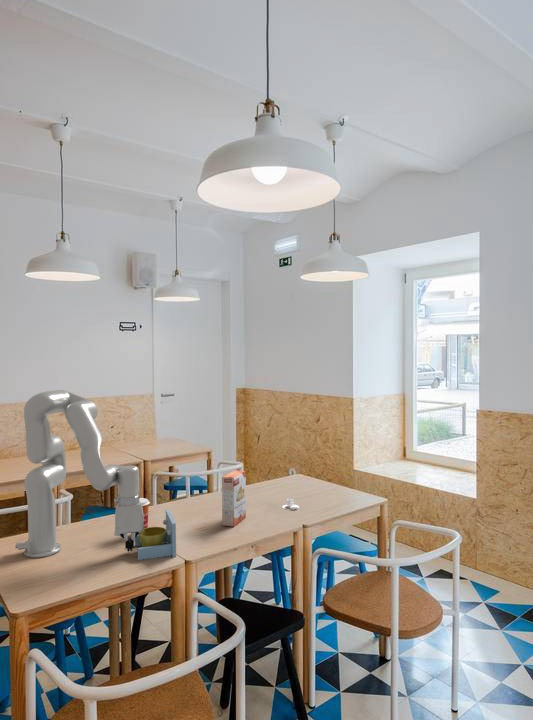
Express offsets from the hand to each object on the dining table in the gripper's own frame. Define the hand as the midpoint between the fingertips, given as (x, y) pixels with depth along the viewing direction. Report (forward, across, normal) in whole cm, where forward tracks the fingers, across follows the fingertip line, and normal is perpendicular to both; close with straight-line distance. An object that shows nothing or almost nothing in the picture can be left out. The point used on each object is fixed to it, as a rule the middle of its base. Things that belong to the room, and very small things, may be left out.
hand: (129, 550), depth 188 cm
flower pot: (+2, +8, 0) cm, 8 cm away
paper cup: (+2, +5, +19) cm, 20 cm away
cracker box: (+1, +45, +21) cm, 50 cm away
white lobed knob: (+2, +73, +30) cm, 79 cm away
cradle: (+1, +8, 0) cm, 8 cm away
